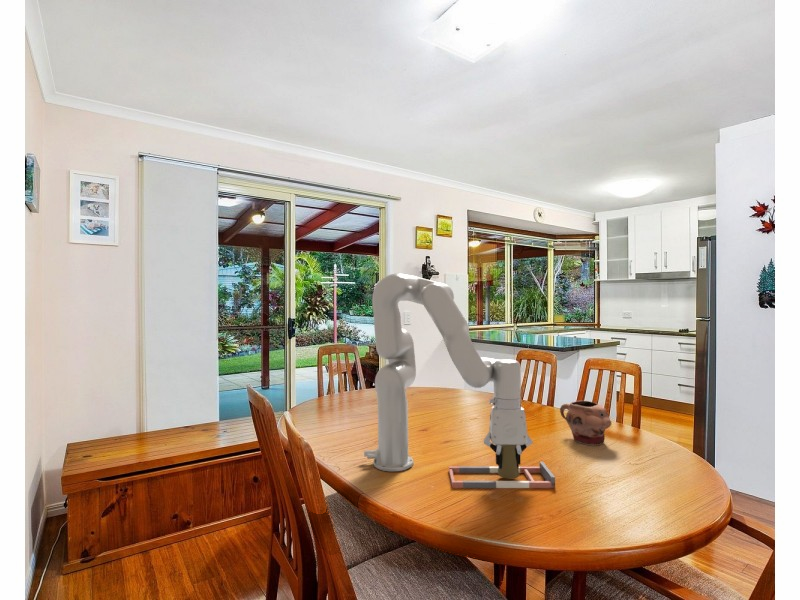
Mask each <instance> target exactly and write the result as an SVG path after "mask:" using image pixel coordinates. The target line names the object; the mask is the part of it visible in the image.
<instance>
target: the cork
mask: <svg viewBox="0 0 800 600" xmlns="http://www.w3.org/2000/svg"><path fill="white" fill-rule="evenodd" d="M516 446H517V445H501V455H502V468H501V469H500V468H499V466H498V465H497V467H498V473H497V475H498V476H499V477H500V478H504V479H509V480H510V479H511V480H512V479H517V478H519V477H520V473H519V470H518V468H517V462H516V449H515V448H516Z"/></svg>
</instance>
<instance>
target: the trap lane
mask: <svg viewBox="0 0 800 600" xmlns="http://www.w3.org/2000/svg"><path fill="white" fill-rule="evenodd" d="M518 470H519V474H524V475H525V477H526V478H527V480H455V477H454V474H455V473H456V474H457V473H458V474H464V473H465V474H469V473H470V474H498V466H468V465H467V466H462V465H461V466H457V465H456V466H452V465H451V466H450V465H449V466H448V473H449V479H450V483H451V488H453V489H454V488H455V489H459V488H460V489H462V488H463V489H465V488H466V489H556V476H555V475H554V474H553V472H551V470H550V469H549V468H548V466H547V464H546V463H545V462H544V461H539V466H519V469H518ZM531 474H540V475H542V477H543V479H545V480H534V478H533V476H532V475H531Z"/></svg>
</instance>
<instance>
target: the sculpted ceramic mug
mask: <svg viewBox="0 0 800 600" xmlns="http://www.w3.org/2000/svg"><path fill="white" fill-rule="evenodd" d="M566 410H568V411H567V413H566V415H565V414H564V413H565V411H566ZM559 413H560V416H561V417H562V419H564V420H565V421H566V423H567V425H568V426H569V428H570V430H571V434H572V437H573V440H574V441H575V442H577V443H579V444H583V445H587V446H600V445H603V444H604V443H605V439H606V438H605V431H606V430H607V429H609V428H610V427H611V426H612V421H611V418H610V416H609V415H608V412H607V409H606V408H605V407H604V406H603V405H602V404H600V403H596V402H594V401H589V400H575V401H572V402H570V403H564V404H561V406H560V408H559Z"/></svg>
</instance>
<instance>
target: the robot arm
mask: <svg viewBox="0 0 800 600" xmlns="http://www.w3.org/2000/svg"><path fill="white" fill-rule="evenodd" d="M454 295H455V294H454V292H453V290H452V288H451V287H450V285H448V284H447V283H443V282H438V281H434V280H429V279H426V278H422V277H419V276H416V275H411V274H407V273H406V274H405V273H400V272H398V273H391V274H388V275H386V276H384V277H383V278H382V279H380V280H379V282H378V283H377V284H376V285H375V287H374V289H373V292H372V312H373V327H374V338H375V348H376V349H375V350H376V353H377V355H378V356H379V357H380V358H382V359H384V360H388V361H387V362H388V363H387V364H385V365H383V366H382V367H381V368H379V370H378V371H377V373H376V375H375V378H374V388H375V394H376V400H377V401H376V402H377V437H378V438H377V448H376V449H374V450H370V449H365V450H364V453H363V455H364V457H366V458H367V459H369V460H370V459H373V463H372V464H373V466H374V467H375V468H376V469H377V470H380V471H384V472H390V473H391V472H394V473H395V472H403V471H406V470H409V469H411V467H413V465H414V459H413V457H412V456H410V455H409V409H408V408H409V407H408V398H407V394H406V393H407V392H406V389H407V388H409V387H411V385H413V384H414V382H415V380H416V378H417V377H416V375H417V367H416V356H415V346H414V344H415V343H414V340H413V337H412V335H411V333H410V332H409V331H408V330H406V329H405V328H402V319H401V318H402V316H401V312H400V309H399V302H401V301H403V302H405V301H408V302H413V303H416V304H419V305H423V306H424V309H425V311H426V312H427V313H428V315H429V316H430V318H431V320H432V321H433V323H434V325H435V326H436V328H437V330H438V331H439V333H440V335H441V337H442V339H443V341H444V344H445V348H446V351H448V355H449V357H450V359H451V361H452V363H453V365H454V367H455V368H456V369H457V371H458V374H459V375H460V376H461V377H462V379H463V380H464V382H465V383H466V384H467V386H469V387H472V388H475V389H480V388H483V387H486V385H487V384H488V383H491V382H493V397H492V398H488V404H490V405H493V406H491V410H490V414H489V415H490V416H489V429H488V432H487V434H486V435H485V437H484V439H483V441H482V442H483V444H484V445H486V446H487V447H489V448H490V449H491V450H492V451H493V452H494V453H495V464H496V465H497V467H498V466H499V468H500V469H501V468H502V455H501V445H517V446H516V448H515V449H516V462H517V468H518V469H519V467H520V465H521V455H522V453H523V452H524V451H525V449H527V448H528V447H529V446H531V445H533V444H534V443H533V440H532V438H531V437H530V436H529V434H528V428H527V427H528V426H527V425H528V424H527V418H526V412H525V411H526V410H525V408H524V407H522V389H521V388H522V387H521V386H522V381H521V380H522V379H521V377H522V373H521V372H522V371H521V364H520V363H521V362H519V361H518V360H516V359H509V358H507V359H506V358H504V359H503V358H502V359H501V358H500V359H495V358H490V357H484V356H480V355H479V353H478V351H477V350H476V348H475V346H474V343H473V342H472V339H471V337H470V336H471V335H470V329H469V325H468V322H467V320H466V318H465V317H464V315H463V313H462V311H461V310H460V308H459V307H458V306H457V304H456V303H455V300H454V298H455V296H454Z"/></svg>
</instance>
